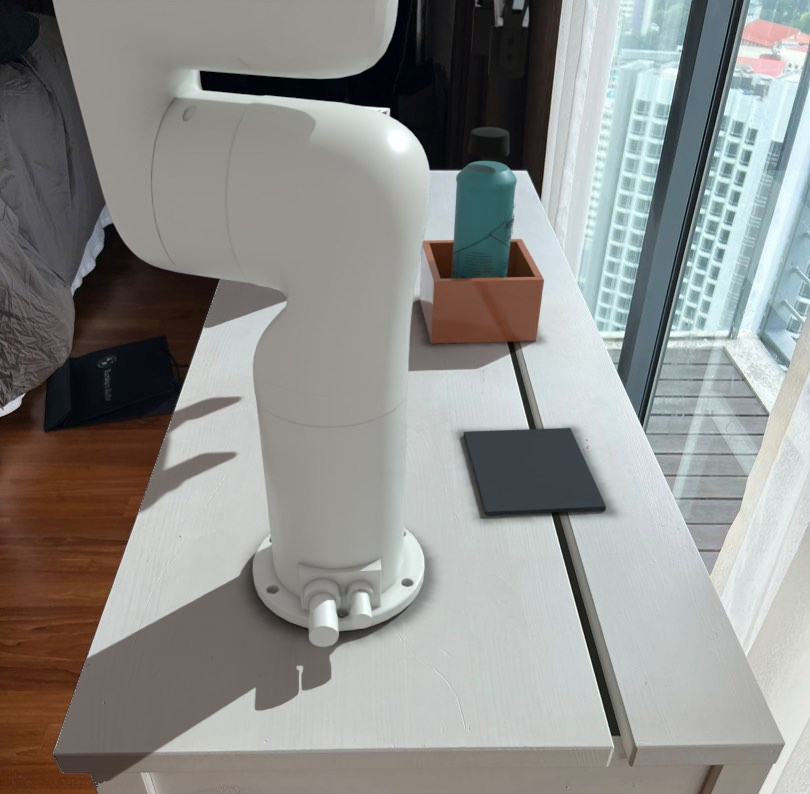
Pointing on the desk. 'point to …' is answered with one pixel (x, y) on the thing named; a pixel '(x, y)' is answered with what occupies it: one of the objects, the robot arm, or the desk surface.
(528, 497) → the mat
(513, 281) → the holder
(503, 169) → the beverage bottle
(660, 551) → the desk surface
